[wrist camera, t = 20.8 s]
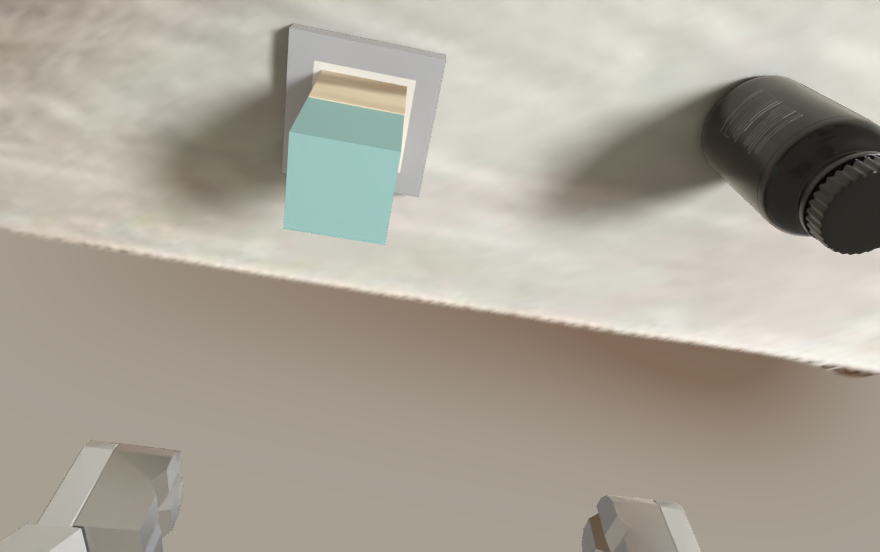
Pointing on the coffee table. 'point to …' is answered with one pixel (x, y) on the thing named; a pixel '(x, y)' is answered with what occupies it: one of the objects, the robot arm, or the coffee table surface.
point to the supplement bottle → (799, 161)
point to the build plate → (374, 62)
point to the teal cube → (342, 170)
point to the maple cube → (360, 92)
